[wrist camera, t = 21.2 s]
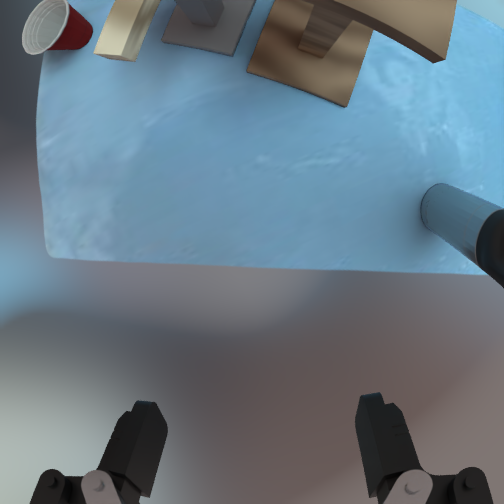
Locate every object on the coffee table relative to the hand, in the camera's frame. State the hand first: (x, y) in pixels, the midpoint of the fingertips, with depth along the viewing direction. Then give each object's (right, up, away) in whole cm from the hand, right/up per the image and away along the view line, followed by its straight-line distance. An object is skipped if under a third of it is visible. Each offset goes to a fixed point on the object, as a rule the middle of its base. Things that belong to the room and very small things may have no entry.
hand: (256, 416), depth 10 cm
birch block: (-8, +34, +6) cm, 36 cm away
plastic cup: (-32, +46, +26) cm, 62 cm away
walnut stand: (+9, +38, +27) cm, 48 cm away
